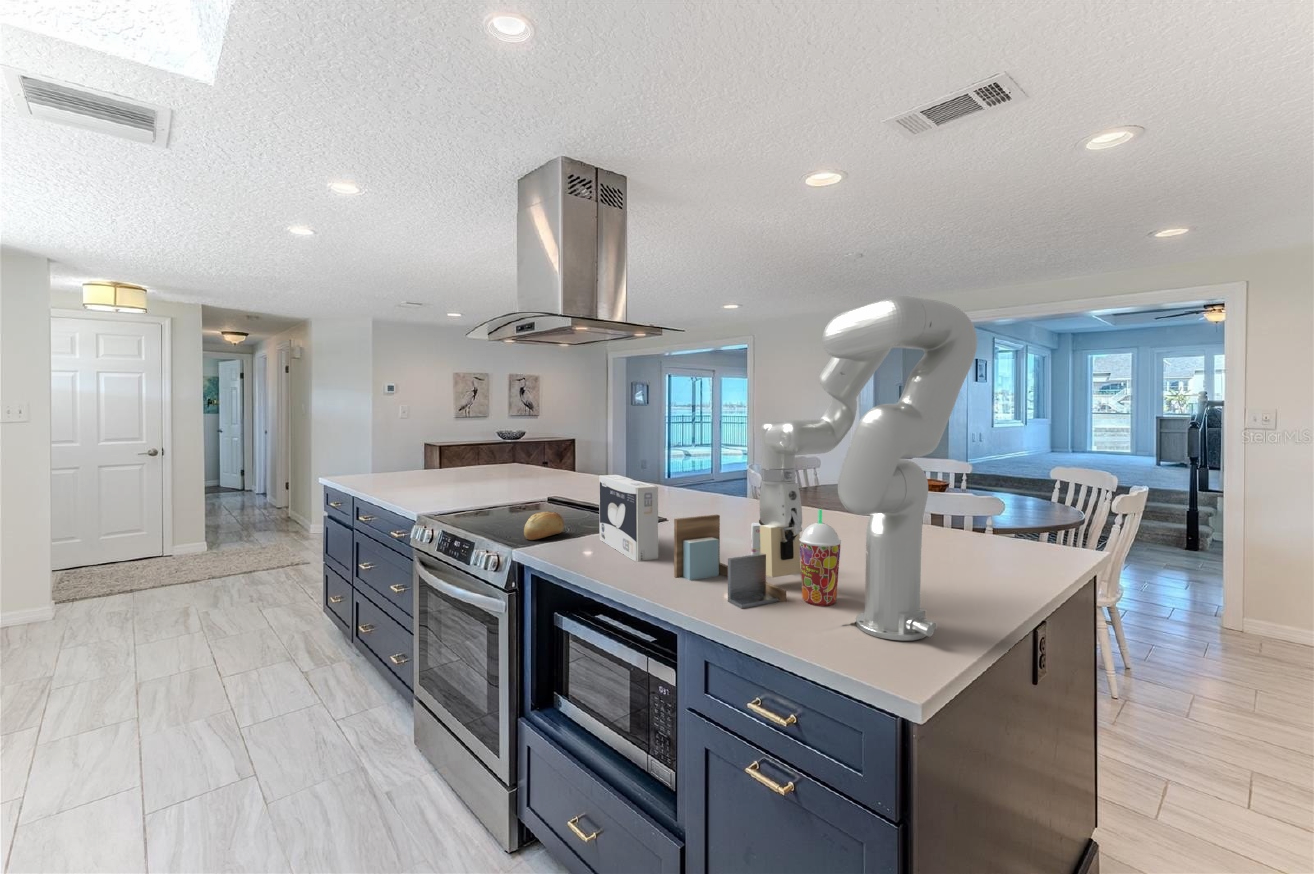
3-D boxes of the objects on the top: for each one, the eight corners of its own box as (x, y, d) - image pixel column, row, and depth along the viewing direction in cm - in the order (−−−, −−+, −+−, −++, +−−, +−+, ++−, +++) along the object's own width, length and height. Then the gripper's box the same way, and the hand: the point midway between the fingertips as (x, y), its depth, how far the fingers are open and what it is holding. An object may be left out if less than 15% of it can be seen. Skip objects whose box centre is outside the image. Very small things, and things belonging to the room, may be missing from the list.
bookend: (777, 601, 123) (778, 558, 122) (741, 608, 118) (742, 564, 118) (762, 594, 127) (763, 553, 126) (727, 601, 123) (727, 558, 122)
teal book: (718, 576, 141) (718, 539, 141) (689, 581, 138) (689, 542, 137) (711, 573, 144) (712, 536, 144) (683, 577, 140) (683, 540, 140)
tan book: (800, 572, 134) (799, 524, 134) (772, 577, 131) (770, 527, 130) (789, 569, 138) (787, 521, 138) (761, 573, 134) (759, 525, 134)
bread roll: (572, 534, 191) (572, 509, 191) (539, 543, 179) (538, 517, 178) (551, 530, 197) (550, 507, 196) (517, 539, 184) (516, 513, 184)
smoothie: (790, 601, 126) (791, 507, 124) (823, 596, 128) (824, 505, 127) (814, 614, 118) (815, 514, 117) (848, 609, 121) (850, 511, 120)
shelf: (786, 604, 123) (786, 535, 122) (738, 614, 118) (738, 541, 117) (716, 572, 147) (716, 514, 146) (674, 579, 141) (674, 518, 141)
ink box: (784, 567, 151) (785, 521, 151) (786, 573, 146) (787, 525, 146) (750, 566, 152) (751, 521, 152) (751, 572, 147) (752, 525, 147)
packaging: (599, 539, 183) (598, 475, 182) (617, 537, 186) (617, 474, 185) (637, 563, 156) (637, 487, 155) (658, 560, 159) (658, 486, 157)
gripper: (816, 477, 128) (818, 562, 128) (768, 473, 143) (770, 549, 143) (789, 479, 125) (791, 566, 125) (743, 475, 140) (745, 552, 140)
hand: (780, 556), depth 134 cm, fingers closed on tan book, 4 cm apart
